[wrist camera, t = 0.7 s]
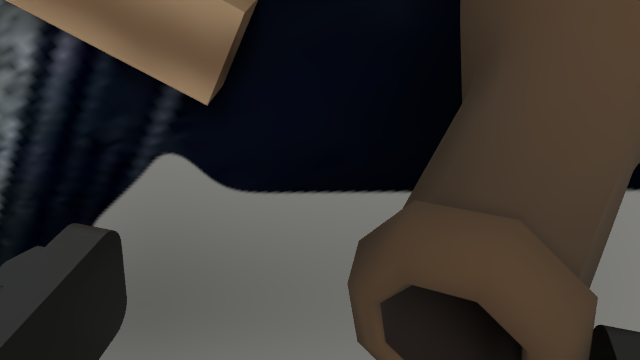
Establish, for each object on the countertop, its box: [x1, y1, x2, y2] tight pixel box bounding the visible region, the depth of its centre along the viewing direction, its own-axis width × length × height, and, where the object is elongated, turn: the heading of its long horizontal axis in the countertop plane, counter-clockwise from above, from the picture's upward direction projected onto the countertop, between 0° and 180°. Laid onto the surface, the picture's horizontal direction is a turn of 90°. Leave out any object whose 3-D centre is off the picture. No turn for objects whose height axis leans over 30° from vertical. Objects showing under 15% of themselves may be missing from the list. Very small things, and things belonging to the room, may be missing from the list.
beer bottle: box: [348, 0, 640, 360], centre depth 16 cm, size 8×8×24 cm
